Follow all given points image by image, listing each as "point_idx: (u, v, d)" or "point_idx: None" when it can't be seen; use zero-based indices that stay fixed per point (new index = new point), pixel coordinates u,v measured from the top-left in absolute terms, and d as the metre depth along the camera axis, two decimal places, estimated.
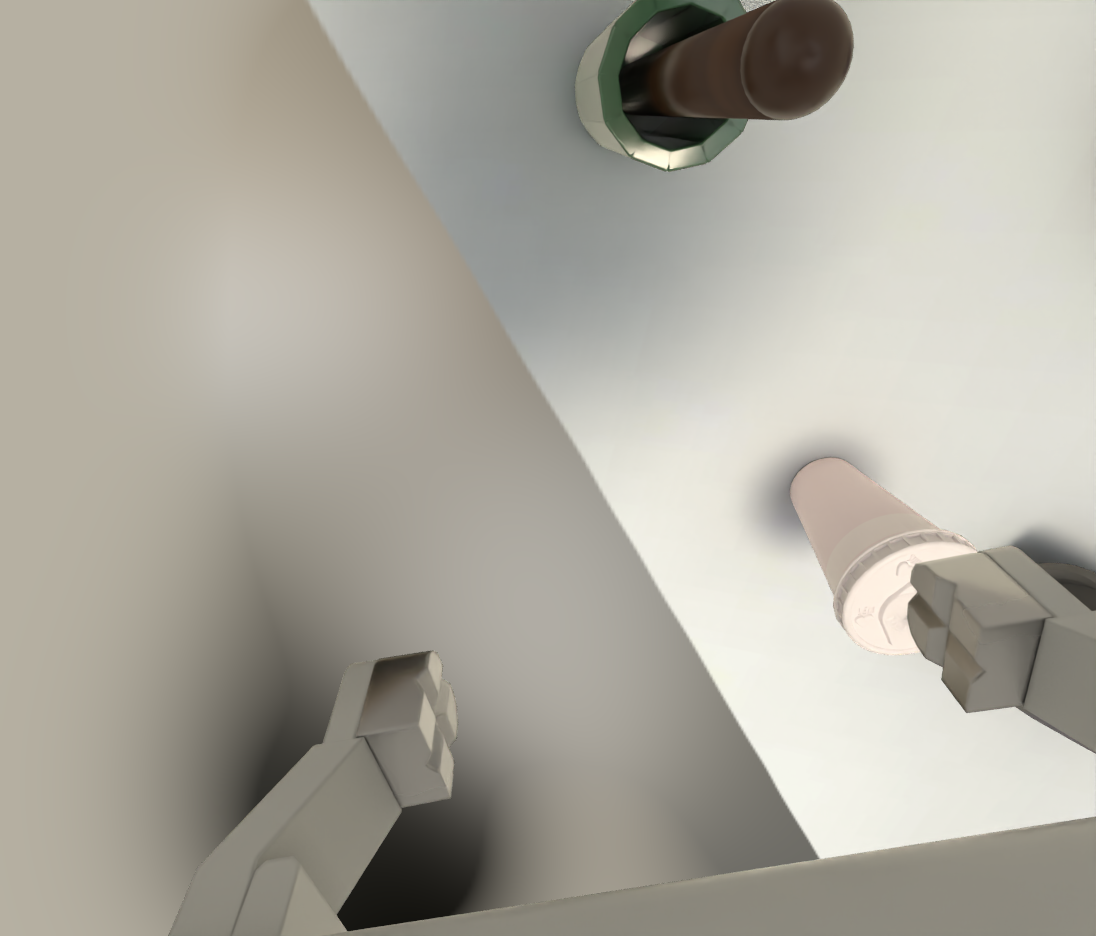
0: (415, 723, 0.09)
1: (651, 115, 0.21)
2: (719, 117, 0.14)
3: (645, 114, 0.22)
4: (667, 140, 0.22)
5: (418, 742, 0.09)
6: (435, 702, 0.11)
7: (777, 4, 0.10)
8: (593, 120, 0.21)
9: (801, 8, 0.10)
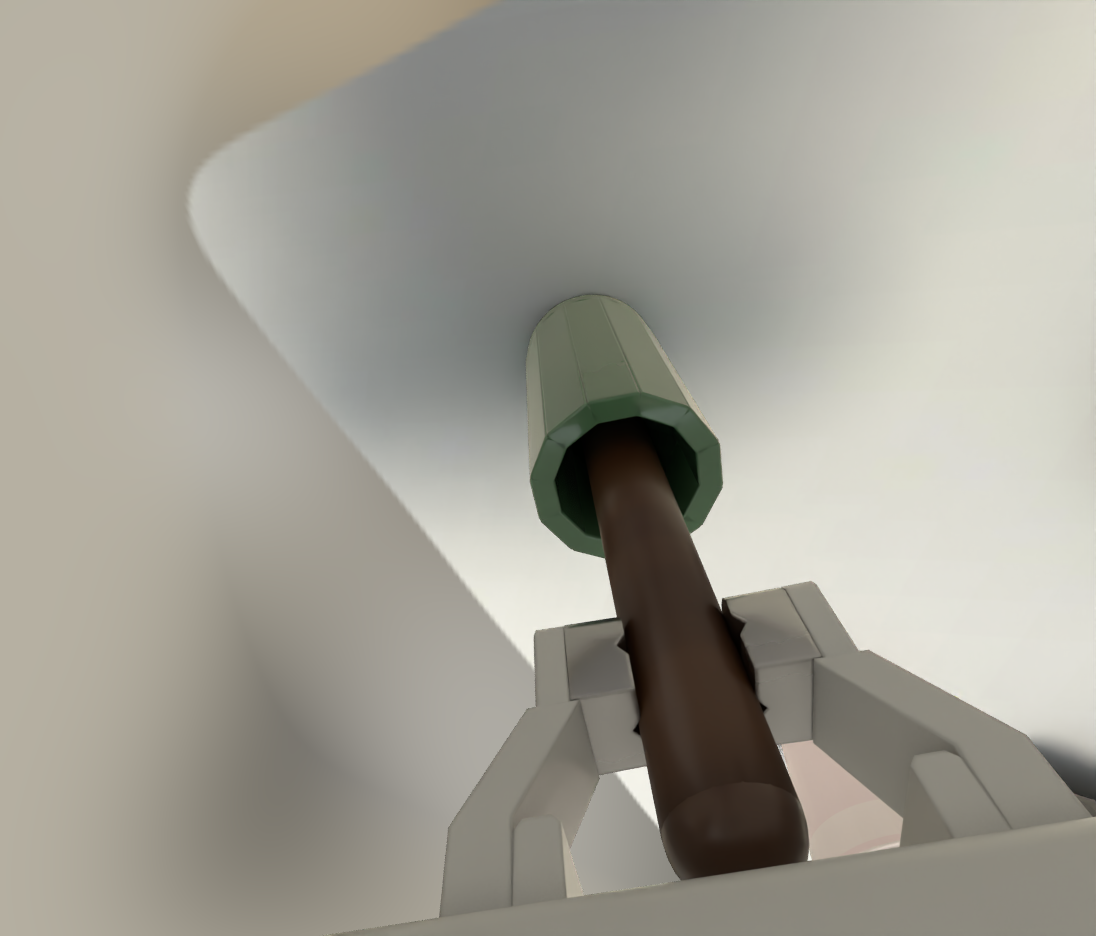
0: (631, 686, 0.09)
1: None
2: None
3: None
4: None
5: (631, 706, 0.09)
6: None
7: (705, 813, 0.07)
8: None
9: (735, 845, 0.07)
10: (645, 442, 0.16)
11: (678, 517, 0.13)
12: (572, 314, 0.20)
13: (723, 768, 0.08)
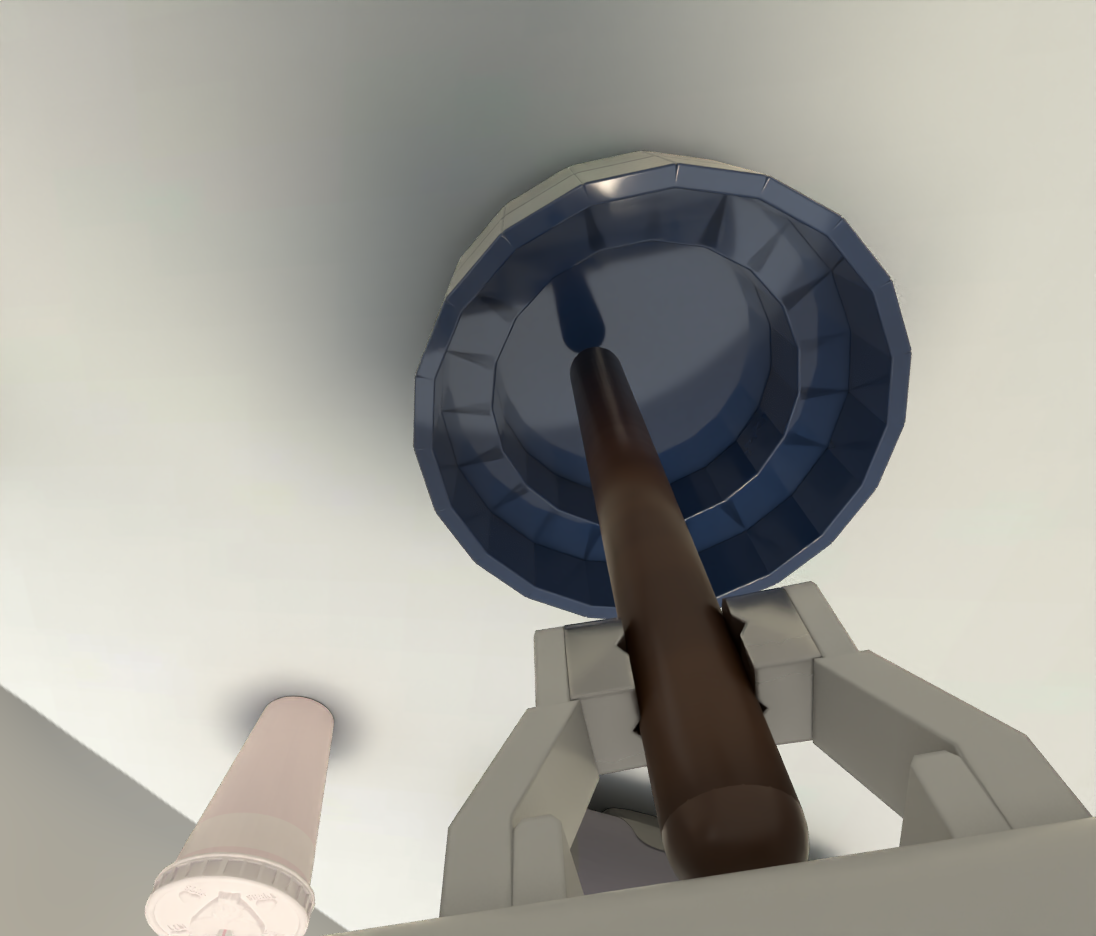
0: (631, 686, 0.09)
1: None
2: None
3: None
4: None
5: (631, 706, 0.09)
6: None
7: (705, 816, 0.07)
8: None
9: (735, 847, 0.07)
10: (646, 443, 0.16)
11: (679, 519, 0.13)
12: None
13: (723, 770, 0.08)
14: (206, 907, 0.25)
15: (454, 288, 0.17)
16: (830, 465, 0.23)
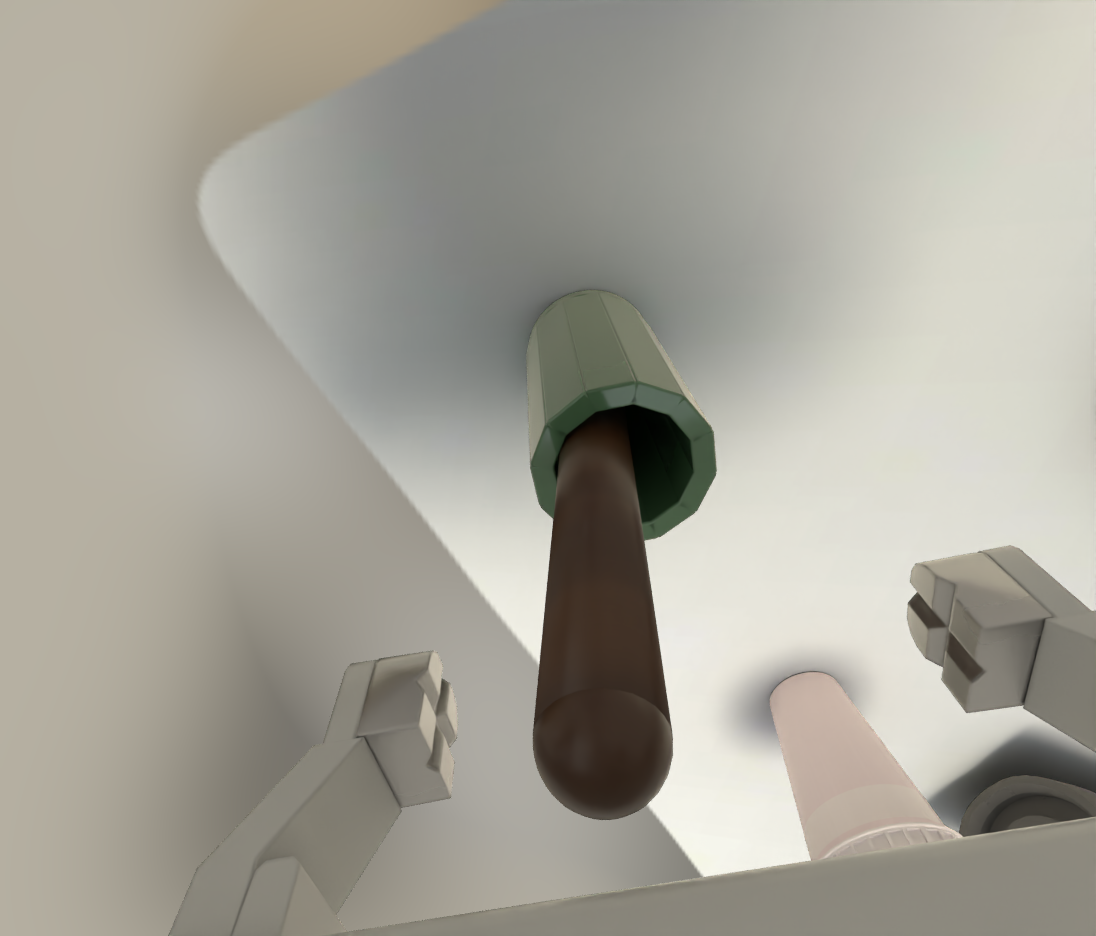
0: (415, 723, 0.09)
1: None
2: None
3: None
4: None
5: (418, 742, 0.09)
6: (435, 702, 0.11)
7: (563, 713, 0.08)
8: None
9: (586, 742, 0.07)
10: (615, 421, 0.16)
11: (626, 482, 0.13)
12: (571, 308, 0.21)
13: (590, 676, 0.08)
14: None
15: None
16: None
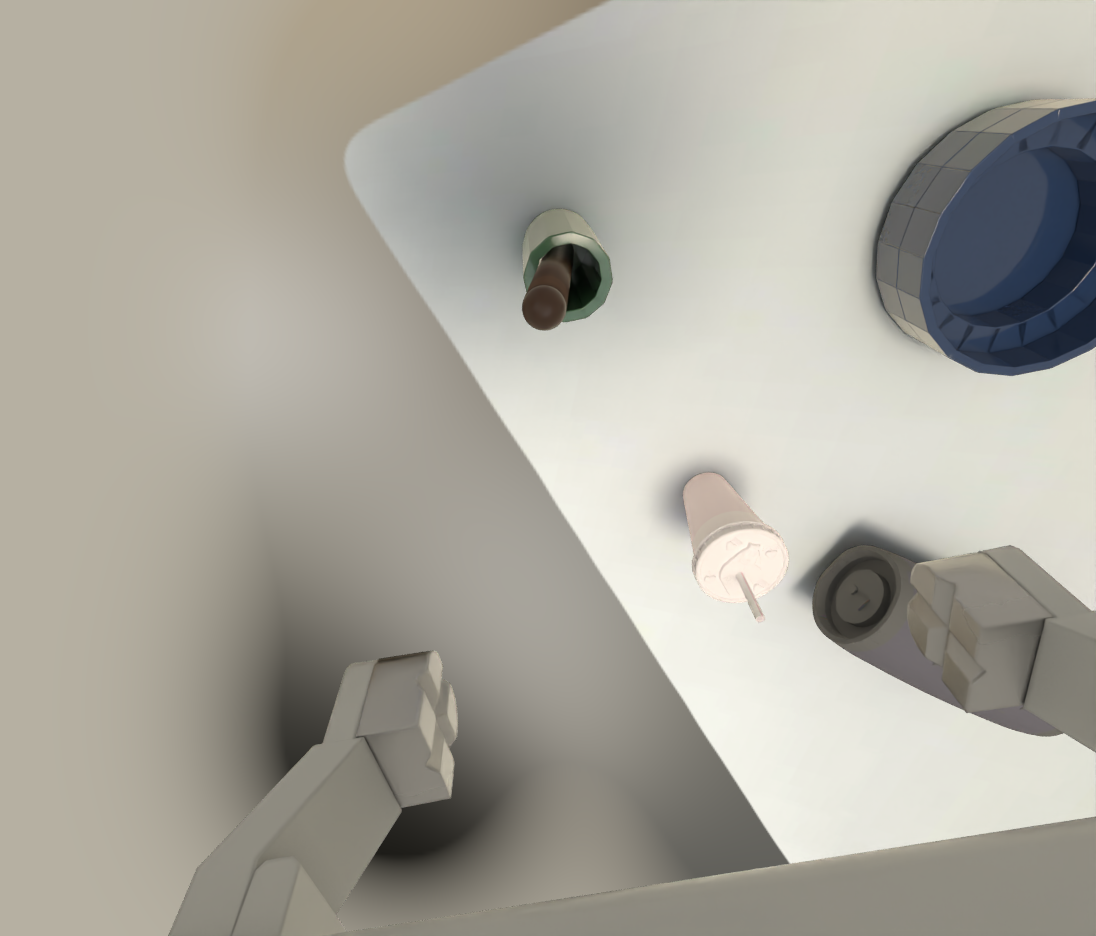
0: (415, 723, 0.09)
1: None
2: None
3: None
4: (571, 293, 0.37)
5: (418, 742, 0.09)
6: (437, 702, 0.11)
7: (531, 291, 0.25)
8: None
9: (537, 295, 0.25)
10: (563, 256, 0.34)
11: (563, 267, 0.31)
12: (546, 215, 0.39)
13: (540, 284, 0.26)
14: (737, 554, 0.42)
15: (977, 164, 0.35)
16: None
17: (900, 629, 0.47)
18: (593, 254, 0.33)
